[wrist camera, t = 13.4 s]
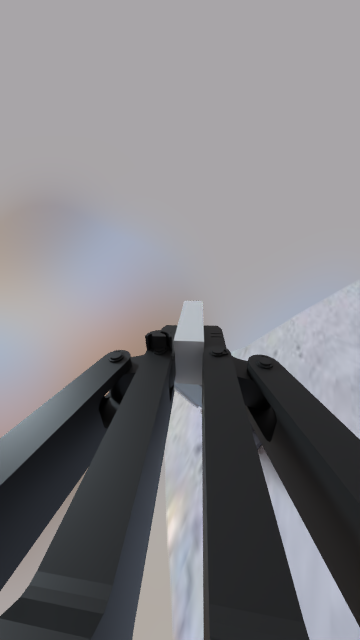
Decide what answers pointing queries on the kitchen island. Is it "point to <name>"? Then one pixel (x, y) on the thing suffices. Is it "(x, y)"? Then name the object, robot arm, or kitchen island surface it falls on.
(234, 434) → the robot arm
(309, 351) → the kitchen island surface
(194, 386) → the panel
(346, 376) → the kitchen island surface
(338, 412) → the kitchen island surface
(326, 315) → the kitchen island surface
